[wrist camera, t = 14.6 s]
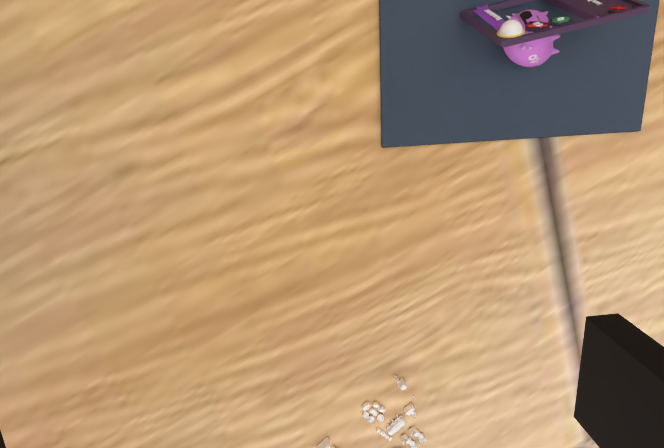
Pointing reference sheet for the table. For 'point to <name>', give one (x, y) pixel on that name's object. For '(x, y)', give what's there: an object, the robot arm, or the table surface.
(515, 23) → the game card
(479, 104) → the mat
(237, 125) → the table surface
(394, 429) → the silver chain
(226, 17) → the table surface
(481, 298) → the table surface
